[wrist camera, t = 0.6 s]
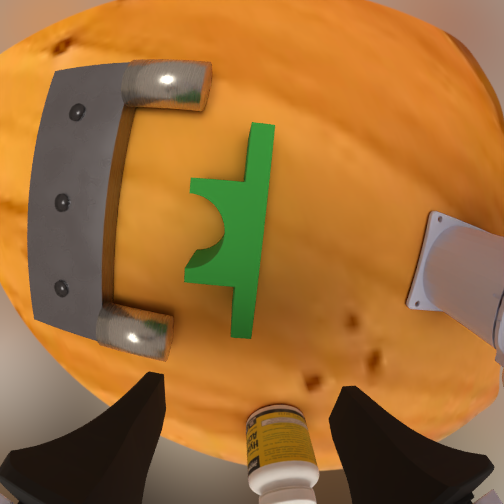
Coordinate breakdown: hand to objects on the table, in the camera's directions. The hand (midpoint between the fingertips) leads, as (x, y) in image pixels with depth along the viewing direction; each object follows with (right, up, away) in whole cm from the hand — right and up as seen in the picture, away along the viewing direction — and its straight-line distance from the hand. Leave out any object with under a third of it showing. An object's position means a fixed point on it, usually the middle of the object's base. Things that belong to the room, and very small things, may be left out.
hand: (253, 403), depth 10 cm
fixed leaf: (-10, +9, +7) cm, 15 cm away
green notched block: (-1, +8, +8) cm, 11 cm away
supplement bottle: (+2, -10, +12) cm, 16 cm away
